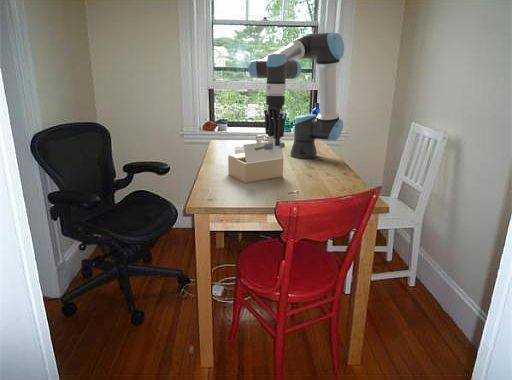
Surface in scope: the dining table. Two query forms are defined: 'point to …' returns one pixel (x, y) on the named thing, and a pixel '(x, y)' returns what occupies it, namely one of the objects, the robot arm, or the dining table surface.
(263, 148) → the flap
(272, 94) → the robot arm
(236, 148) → the white cup
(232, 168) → the cabinet
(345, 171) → the dining table surface
